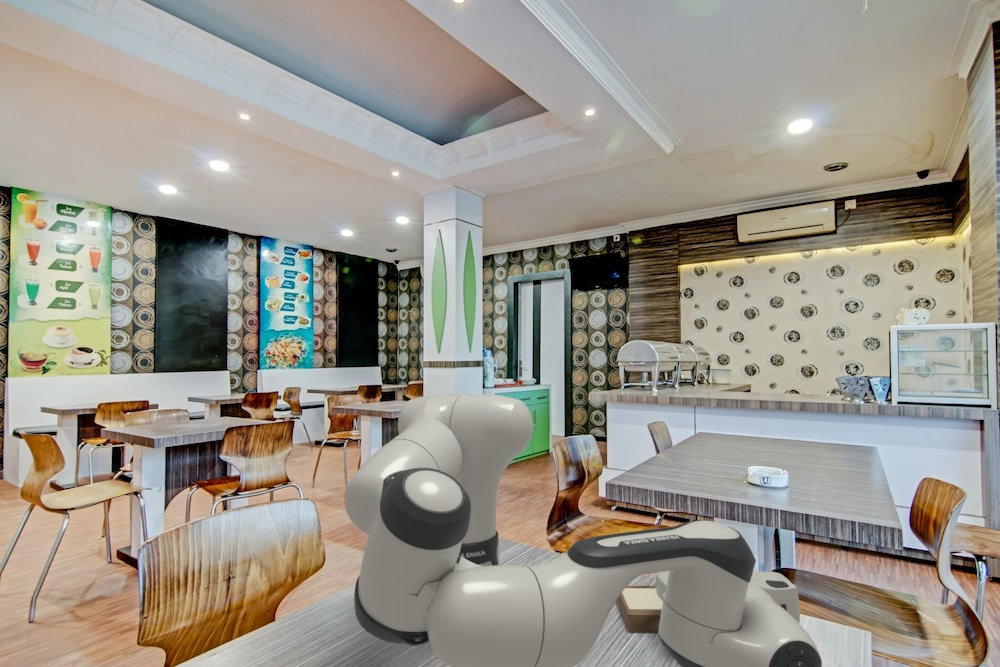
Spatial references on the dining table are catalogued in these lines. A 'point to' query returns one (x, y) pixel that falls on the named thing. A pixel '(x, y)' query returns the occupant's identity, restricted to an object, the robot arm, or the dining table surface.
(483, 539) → the robot arm
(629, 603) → the walnut base
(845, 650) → the dining table surface
